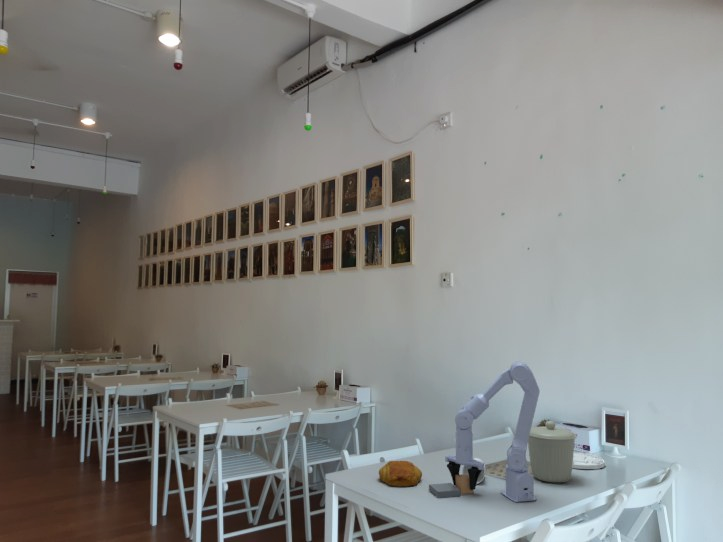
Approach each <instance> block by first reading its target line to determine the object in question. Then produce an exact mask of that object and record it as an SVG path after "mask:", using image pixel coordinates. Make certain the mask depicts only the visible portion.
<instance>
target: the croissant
mask: <svg viewBox="0 0 723 542" xmlns="http://www.w3.org/2000/svg"><path fill="white" fill-rule="evenodd" d="M378 475H379V480H381V482H383V483H384V482H385V483H384V484H386V485H387V484H388V485H387V486H391V485H392V487H401V486H407V487H410V486H412V485H415V486H417V485H418V484H419V482H420V481H421V480H422V477H423V472H422V471H421V469H420V468H419V467H417V466H416V465H415V464H414V463H413V462H410V461H408V460H390V461H388V462H387V463H385V464H384V465H383V466H381V467H380V468H379V470H378Z"/></svg>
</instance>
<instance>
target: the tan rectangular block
mask: <svg viewBox="0 0 723 542" xmlns="http://www.w3.org/2000/svg"><path fill="white" fill-rule="evenodd" d="M454 486H456V487H457V488H458V489H460V490H461V495H466V494H474V490H470V479H469V475H468V474H463V473H462V474H459V475H455V485H454Z"/></svg>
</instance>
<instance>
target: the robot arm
mask: <svg viewBox="0 0 723 542" xmlns="http://www.w3.org/2000/svg"><path fill="white" fill-rule="evenodd" d="M536 380H537V379H536V378H535V376H534V373H533V371H532V370H531V368H530V367H529V365H527V363H526V362H523V361H521V360H519V361H515V362H513V363H512V364H511V365H510V367H508V368H506V369H504V371H502V372H501V373H500V374H499V375H498V376H497V377H496V378H495V379H494V380H493V382H492V383H491V384H489V386H488V387H487V388H486V389H485V390H484V391H483V393H476V394H475V395H471V396H470V400H469V401H468V402H467V403H466V404H465V405H462V406H461V407H460V409H461V410H459V411H458V412H457V414H456V415H455V418H454V421H455V425H456V426H455V455H450V454H447V455H445V457H444V458H445V463H447V464H446V467H447V469H448V471H449V473H450V477H451V478H452V484H453V485H454V486H455V475H460V471H461V466H464V465H465V466H469V467H471V468H470V469H468V473H469V479H470V490H473V491H474V490H476V486H477V484H476V483H477V480H478V477H479V475H480V473H481V471H482V469H484V464H485V462H484V463H481V462H479V461H476V460H474V459H473V458H474V457H473V456H474V455H473V453H474V452H473V449H474V448H473V447H474V446H473V443H474V442H473V441H474V440H473V436H474V434H473V427H472V426H473V422H474V420H477V419H478V418H479V417H480V416H481V415H482V414H483V413H484V412H485V411H486V410H487V409H488V408H489V407H490V400H491V399H492V398H493V397H494V396H495V395H497V394H498V393H499V392H500V391H501V390H502V389H503V388H504V387H505V386H506V385H513V384H514V381H515V383H517V384H518V385H519V386H520V388H521V389H522V390H523V392H524V393H523V398H522V402H521V406H520V410H519V414H518V418H517V423H516V427H515V432H514V436H513V439H512V442H511V445H510V446H509V447H508V449H507V451H506V465H505V490H504V491H500V494H502V495H503V496H504V497H506V498H508V499H510V501H513V502H515V503H517V502H531V501H537V498H536V497H535V493H534V492H535V491H534V490H535V484H534V483H535V482H534V478H533V476H531V474H530V473H529V468H528V466H527V463H528V460H527V457H526V456H527V455H526V454H527V449H528V448H527V447H528V439H529V434H530V430H531V428H532V425H533V421H534V418H535V412H536V408H537V405H538V404H537V403H538V400H539V396H540V387H539V385H538V383H537V381H536Z"/></svg>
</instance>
